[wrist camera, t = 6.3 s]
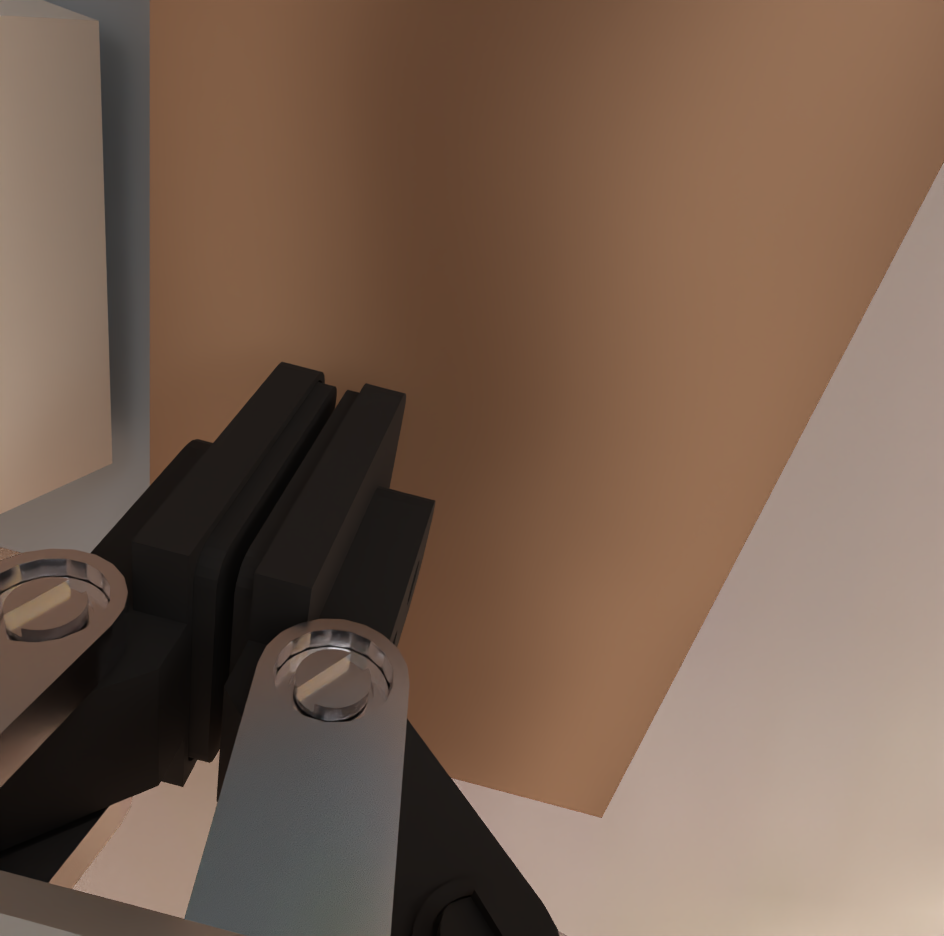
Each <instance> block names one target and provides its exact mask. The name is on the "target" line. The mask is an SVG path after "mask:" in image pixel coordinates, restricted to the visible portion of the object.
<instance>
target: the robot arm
mask: <svg viewBox="0 0 944 936" xmlns="http://www.w3.org/2000/svg"><path fill="white" fill-rule="evenodd" d="M336 397H337V388H336V386H332V385H328V384H325V375H324V373H323V372H321V371H317V370H313V369H309V368H305V367H301V366H297V365H293V364H290V363H286V362H281V363H280V364H278V366H277V367H276V368H275V369H274V370H273V372H272V373H271V374H270V375H269V376H268V378H267V379H266V380H265V381H264V382H263V384H262V385H261V386H260V387H259V388H258V390H257V391H256V392H255V393H254V394H253V396H252V397H251V398H250V399H249V400H248V402H247V403H246V404H245V405H244V406H243V408H242V409H241V410H240V411H239V412H238V414H237V415H236V416H235V417H234V418H233V420H232V421H231V422H230V423H229V424H228V426H227V427H226V428H225V429H224V430H223V432H222V433H221V434H220V435H219V436H218V438H217V439H216V440H215V441H214V442H213V443H211V442H207V441H204V440H200V439H195V440H192V441H190V442H189V443H188V444H187V445H186V446H185V447H184V448H183V449H182V450H181V451H180V452H179V453H178V455H177V456H176V457H175V458H174V459H173V460H172V461H171V462H170V464H169V465H168V466H167V467H166V468H165V469H164V470H163V472H162V473H161V474H160V475H159V476H158V477H157V478H156V479H155V481H154V482H153V483H152V484H151V485H150V486H149V487H148V488H147V490H146V491H145V492H144V493H143V494H142V495H141V496H140V497H139V499H138V500H137V501H136V502H135V503H134V504H133V505H132V507H131V508H130V509H129V510H128V511H127V512H126V513H125V514H124V516H123V517H122V518H121V519H120V520H119V521H118V522H117V523H116V525H115V526H114V527H113V528H112V529H111V530H110V531H109V532H108V534H107V535H106V536H105V537H104V538H103V539H102V540H101V542H100V543H99V544H98V545H97V546H96V547H95V548H94V549H93V551H92V552H91V553H87V552H83V551H79V550H75V549H44V550H37V551H29V552H24V553H21V554H18V555H15V556H12V557H9V558H6V559H3V560H1V561H0V936H567V935H565V934H563V933H561V932H559V931H558V929H557V927H556V925H555V924H554V922H553V920H552V918H551V916H550V915H549V913H548V911H547V909H546V907H545V906H544V904H543V903H542V901H541V900H540V898H539V897H538V896H537V894H536V893H535V892H534V890H533V889H532V888H531V886H530V885H529V883H528V882H527V881H526V879H525V878H524V877H523V875H522V874H521V873H520V871H519V870H518V869H517V867H516V866H515V864H514V863H513V862H512V860H511V859H510V858H509V856H508V855H507V854H506V852H505V851H504V850H503V848H502V847H501V845H500V844H499V843H498V841H497V840H496V839H495V837H494V836H493V835H492V833H491V832H490V830H489V829H488V828H487V826H486V825H485V824H484V822H483V821H482V820H481V818H480V817H479V816H478V814H477V813H476V811H475V810H474V809H473V807H472V806H471V805H470V803H469V802H468V801H467V799H466V798H465V796H464V795H463V794H462V792H461V791H460V790H459V788H458V787H457V786H456V784H455V783H454V782H453V780H452V779H451V777H450V776H449V775H448V773H447V772H446V771H445V769H444V768H443V767H442V765H441V764H440V763H439V761H438V760H437V758H436V757H435V756H434V754H433V753H432V752H431V750H430V749H429V748H428V746H427V745H426V743H425V742H424V741H423V739H422V738H421V737H420V735H419V734H418V733H417V731H416V730H415V729H414V727H413V726H412V724H411V723H410V722H409V720H408V719H407V710H408V697H409V675H408V667H407V664H406V662H405V660H404V659H403V657H402V655H401V653H400V651H399V649H398V648H397V646H398V643H399V640H400V637H401V633H402V630H403V627H404V624H405V620H406V617H407V614H408V611H409V607H410V604H411V600H412V597H413V593H414V590H415V586H416V583H417V579H418V575H419V571H420V568H421V564H422V560H423V556H424V552H425V547H426V543H427V539H428V535H429V530H430V526H431V522H432V517H433V513H434V508H435V500H431V499H427V498H424V497H420V496H416V495H412V494H408V493H404V492H400V491H397V490H393V489H389V488H390V483H391V478H392V472H393V467H394V462H395V457H396V452H397V446H398V441H399V436H400V431H401V425H402V420H403V415H404V410H405V404H406V393H402V392H398V391H394V390H390V389H386V388H382V387H379V386H375V385H371V384H367V383H365V385H364V386H363V387H362V389H361V391H360V393H359V392H355V391H351V390H347V391H346V392H345V393H344V395H343V397H342V398H341V400H340V402H339V403H338V405H337V406H336V408H335V405H336ZM219 749H220V757H219V772H218V788H217V802H218V803H217V807H216V810H215V814H214V817H213V821H212V824H211V828H210V831H209V835H208V838H207V842H206V845H205V849H204V852H203V856H202V859H201V863H200V866H199V870H198V873H197V877H196V880H195V884H194V887H193V890H192V894H191V897H190V901H189V904H188V908H187V911H186V915H185V918H184V919H182V918H178V917H175V916H171V915H167V914H164V913H160V912H156V911H152V910H149V909H145V908H141V907H137V906H134V905H130V904H126V903H123V902H119V901H115V900H111V899H107V898H104V897H100V896H96V895H92V894H88V893H85V892H81V891H77V890H73V889H72V888H73V887H74V885H75V884H76V883H77V881H78V880H79V879H80V878H81V876H82V875H83V874H84V872H85V871H86V870H87V868H88V867H89V866H90V864H91V863H92V862H93V861H94V859H95V858H96V857H97V855H98V854H99V853H100V851H101V850H102V849H103V847H104V846H105V845H106V843H107V842H108V841H109V840H110V838H111V837H112V836H113V834H114V833H115V832H116V830H117V829H118V828H119V826H120V825H121V824H122V822H123V820H124V818H125V816H126V815H127V813H128V811H129V809H130V807H131V802H132V797H133V796H134V795H137V794H139V793H142V792H144V791H146V790H149V789H151V788H154V787H156V786H158V785H159V784H160V782H161V781H162V782H166V783H170V784H174V785H178V786H182V787H183V786H184V784H185V782H186V780H187V778H188V777H189V775H190V773H191V771H192V769H193V767H194V765H195V763H196V761H197V760H201V761H205V762H209V763H210V762H212V761H213V759H214V758H215V756H216V755H217V753H218V751H219Z"/></svg>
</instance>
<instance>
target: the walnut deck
mask: <svg viewBox="0 0 944 936" xmlns="http://www.w3.org/2000/svg"><path fill="white" fill-rule="evenodd" d="M943 162H944V0H150V485H151V484H152V483H153V482H154V481H155V479H156V478H157V477H158V476H159V475H160V474H161V473H162V472H163V470H164V469H165V468H166V467H167V466H168V465H169V464H170V462H171V461H172V460H173V459H174V458H175V457H176V456H177V455H178V453H179V452H180V451H181V450H182V449H183V448H184V447H185V446H186V445H187V444H188V443H189V442H190V441H192V440H195V439H200V440H204V441H207V442H211V443H213V442H214V441H215V440H216V439H217V438H218V436H219V435H220V434H221V433H222V432H223V430H224V429H225V428H226V427H227V426H228V424H229V423H230V422H231V421H232V420H233V418H234V417H235V416H236V415H237V414H238V412H239V411H240V410H241V409H242V408H243V406H244V405H245V404H246V403H247V402H248V400H249V399H250V398H251V397H252V396H253V394H254V393H255V392H256V391H257V390H258V388H259V387H260V386H261V385H262V384H263V382H264V381H265V380H266V379H267V378H268V376H269V375H270V374H271V373H272V372H273V370H274V369H275V368H276V367H277V366H278V364H280V363H281V362H286V363H290V364H293V365H297V366H301V367H305V368H309V369H313V370H317V371H321V372H323V373H324V375H325V384H328V385H332V386H336V388H337V397H336V405H335V408H336V406H337V405H338V403H339V402H340V400H341V398H342V397H343V395H344V393H345V392H346V391H347V390H351V391H355V392H359V393H360V391H361V389H362V387H363V386H364V385H365V383H367V384H371V385H375V386H379V387H382V388H386V389H390V390H394V391H398V392H402V393H406V404H405V410H404V415H403V420H402V425H401V431H400V436H399V441H398V446H397V452H396V457H395V462H394V467H393V472H392V478H391V483H390V488H389V489H393V490H397V491H400V492H404V493H408V494H412V495H416V496H420V497H424V498H427V499H431V500H435V508H434V513H433V517H432V522H431V526H430V530H429V535H428V539H427V543H426V547H425V552H424V556H423V560H422V564H421V568H420V571H419V575H418V579H417V583H416V586H415V590H414V593H413V597H412V600H411V604H410V607H409V611H408V614H407V617H406V620H405V624H404V627H403V630H402V633H401V637H400V640H399V643H398V646H397V648H398V649H399V651H400V653H401V655H402V657H403V659H404V660H405V662H406V664H407V667H408V675H409V697H408V710H407V719H408V720H409V722H410V723H411V724H412V726H413V727H414V729H415V730H416V731H417V733H418V734H419V735H420V737H421V738H422V739H423V741H424V742H425V743H426V745H427V746H428V748H429V749H430V750H431V752H432V753H433V754H434V756H435V757H436V758H437V760H438V761H439V763H440V764H441V765H442V767H443V768H444V769H445V771H446V772H447V773H448V775H449V776H450V777H451V778H454V779H458V780H462V781H466V782H469V783H473V784H477V785H481V786H484V787H488V788H492V789H496V790H499V791H503V792H507V793H511V794H514V795H518V796H522V797H526V798H529V799H533V800H537V801H541V802H544V803H548V804H552V805H556V806H559V807H563V808H567V809H571V810H574V811H578V812H582V813H586V814H589V815H593V816H597V817H601V818H602V816H603V814H604V812H605V810H606V808H607V806H608V805H609V803H610V801H611V799H612V797H613V795H614V793H615V791H616V789H617V787H618V785H619V783H620V782H621V780H622V778H623V776H624V774H625V772H626V770H627V768H628V766H629V764H630V762H631V760H632V759H633V757H634V755H635V753H636V751H637V749H638V747H639V745H640V743H641V741H642V739H643V737H644V736H645V734H646V732H647V730H648V728H649V726H650V724H651V722H652V720H653V718H654V716H655V714H656V713H657V711H658V709H659V707H660V705H661V703H662V701H663V699H664V697H665V695H666V693H667V691H668V690H669V688H670V686H671V684H672V682H673V680H674V678H675V676H676V674H677V672H678V670H679V668H680V666H681V665H682V663H683V661H684V659H685V657H686V655H687V653H688V651H689V649H690V647H691V645H692V643H693V642H694V640H695V638H696V636H697V634H698V632H699V630H700V628H701V626H702V624H703V622H704V620H705V619H706V617H707V615H708V613H709V611H710V609H711V607H712V605H713V603H714V601H715V599H716V597H717V596H718V594H719V592H720V590H721V588H722V586H723V584H724V582H725V580H726V578H727V576H728V574H729V573H730V571H731V569H732V567H733V565H734V563H735V561H736V559H737V557H738V555H739V553H740V551H741V550H742V548H743V546H744V544H745V542H746V540H747V538H748V536H749V534H750V532H751V530H752V528H753V527H754V525H755V523H756V521H757V519H758V517H759V515H760V513H761V511H762V509H763V507H764V505H765V504H766V502H767V500H768V498H769V496H770V494H771V492H772V490H773V488H774V486H775V484H776V482H777V480H778V479H779V477H780V475H781V473H782V471H783V469H784V467H785V465H786V463H787V461H788V459H789V457H790V456H791V454H792V452H793V450H794V448H795V446H796V444H797V442H798V440H799V438H800V436H801V434H802V433H803V431H804V429H805V427H806V425H807V423H808V421H809V419H810V417H811V415H812V413H813V411H814V410H815V408H816V406H817V404H818V402H819V400H820V398H821V396H822V394H823V392H824V390H825V388H826V387H827V385H828V383H829V381H830V379H831V377H832V375H833V373H834V371H835V369H836V367H837V365H838V364H839V362H840V360H841V358H842V356H843V354H844V352H845V350H846V348H847V346H848V344H849V342H850V341H851V339H852V337H853V335H854V333H855V331H856V329H857V327H858V325H859V323H860V321H861V319H862V317H863V316H864V314H865V312H866V310H867V308H868V306H869V304H870V302H871V300H872V298H873V296H874V294H875V293H876V291H877V289H878V287H879V285H880V283H881V281H882V279H883V277H884V275H885V273H886V271H887V270H888V268H889V266H890V264H891V262H892V260H893V258H894V256H895V254H896V252H897V250H898V248H899V247H900V245H901V243H902V241H903V239H904V237H905V235H906V233H907V231H908V229H909V227H910V225H911V224H912V222H913V220H914V218H915V216H916V214H917V212H918V210H919V208H920V206H921V204H922V202H923V201H924V199H925V197H926V195H927V193H928V191H929V189H930V187H931V185H932V183H933V181H934V179H935V178H936V176H937V174H938V172H939V170H940V168H941V166H942V164H943Z"/></svg>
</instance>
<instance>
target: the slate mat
mask: <svg viewBox="0 0 944 936" xmlns="http://www.w3.org/2000/svg"><path fill="white" fill-rule="evenodd" d="M44 1H46V2H49V3H52V4H55V5H57V6H60V7H63V8H65V9H68V10H71V11H74V12H76V13H79V14H82V15H84V16H87V17H90V18H92V19H95V20H98V21H99V41H100V74H101V107H102V139H103V172H104V205H105V237H106V270H107V303H108V335H109V368H110V401H111V433H112V464H110V465H107V466H105V467H103V468H101V469H99V470H96V471H94V472H92V473H90V474H88V475H85V476H83V477H81V478H79V479H77V480H74V481H72V482H70V483H68V484H66V485H63V486H61V487H59V488H57V489H55V490H52V491H50V492H48V493H46V494H44V495H41V496H39V497H37V498H35V499H33V500H30V501H28V502H26V503H24V504H22V505H19V506H17V507H15V508H13V509H11V510H8V511H6V512H4V513H2V514H0V547H2V548H5V549H9V550H13V551H17V552H20V553H24V552H29V551H37V550H44V549H75V550H79V551H83V552H87V553H91V552H92V551H93V549H94V548H95V547H96V546H97V545H98V544H99V543H100V542H101V540H102V539H103V538H104V537H105V536H106V535H107V534H108V532H109V531H110V530H111V529H112V528H113V527H114V526H115V525H116V523H117V522H118V521H119V520H120V519H121V518H122V517H123V516H124V514H125V513H126V512H127V511H128V510H129V509H130V508H131V507H132V505H133V504H134V503H135V502H136V501H137V500H138V499H139V497H140V496H141V495H142V494H143V493H144V492H145V491H146V490H147V488H148V487H149V486H150V0H44Z"/></svg>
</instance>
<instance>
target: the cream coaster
mask: <svg viewBox="0 0 944 936" xmlns="http://www.w3.org/2000/svg"><path fill="white" fill-rule="evenodd" d="M110 464H112V433H111V401H110V368H109V335H108V303H107V270H106V237H105V205H104V172H103V139H102V107H101V74H100V41H99V21H98V20H95V19H92V18H90V17H87V16H84V15H82V14H79V13H76V12H74V11H71V10H68V9H65V8H63V7H60V6H57V5H55V4H52V3H49V2H46V1H44V0H0V514H2V513H4V512H6V511H8V510H11V509H13V508H15V507H17V506H19V505H22V504H24V503H26V502H28V501H30V500H33V499H35V498H37V497H39V496H41V495H44V494H46V493H48V492H50V491H52V490H55V489H57V488H59V487H61V486H63V485H66V484H68V483H70V482H72V481H74V480H77V479H79V478H81V477H83V476H85V475H88V474H90V473H92V472H94V471H96V470H99V469H101V468H103V467H105V466H107V465H110Z"/></svg>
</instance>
